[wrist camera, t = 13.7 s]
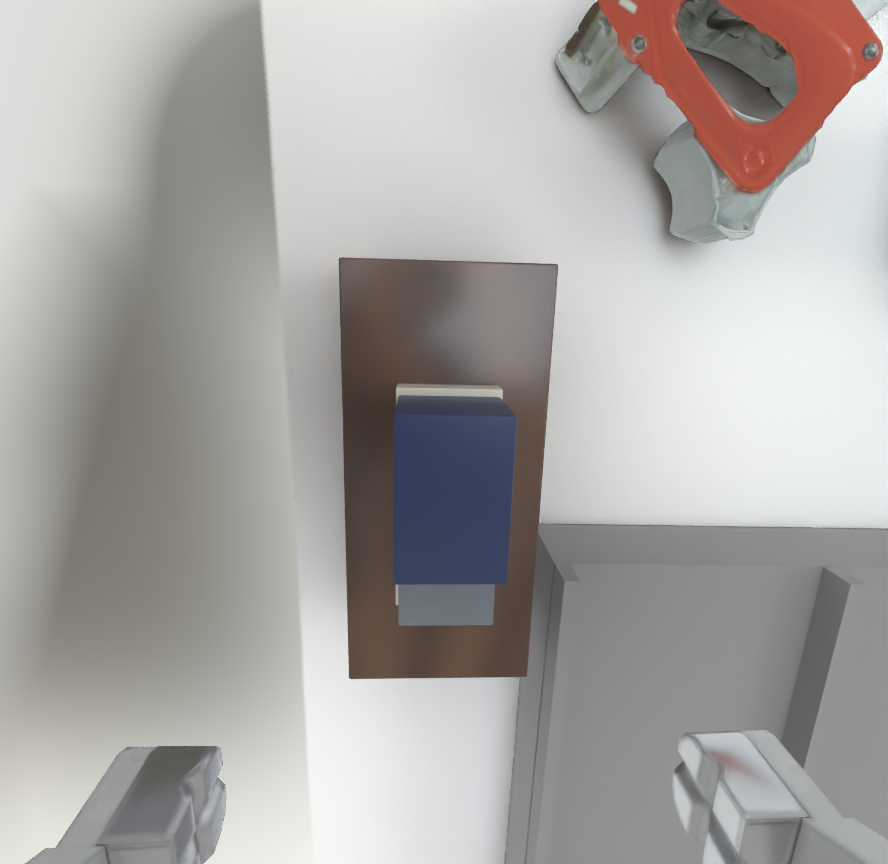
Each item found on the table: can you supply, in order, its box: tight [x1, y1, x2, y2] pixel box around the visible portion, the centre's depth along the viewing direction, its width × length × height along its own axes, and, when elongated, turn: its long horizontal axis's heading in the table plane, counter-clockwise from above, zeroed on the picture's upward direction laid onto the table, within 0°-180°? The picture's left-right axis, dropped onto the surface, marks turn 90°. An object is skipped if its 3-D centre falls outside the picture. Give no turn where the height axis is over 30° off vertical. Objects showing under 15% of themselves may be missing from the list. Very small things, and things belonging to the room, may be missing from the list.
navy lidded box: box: [393, 384, 517, 626], centre depth 20 cm, size 10×4×5 cm, turn 179°
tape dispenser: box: [555, 0, 888, 243], centre depth 24 cm, size 18×5×20 cm
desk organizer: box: [505, 524, 888, 864], centre depth 34 cm, size 32×40×7 cm
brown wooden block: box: [339, 258, 558, 679], centre depth 27 cm, size 9×20×8 cm, turn 179°
